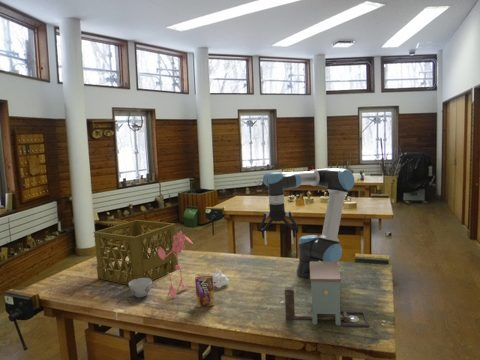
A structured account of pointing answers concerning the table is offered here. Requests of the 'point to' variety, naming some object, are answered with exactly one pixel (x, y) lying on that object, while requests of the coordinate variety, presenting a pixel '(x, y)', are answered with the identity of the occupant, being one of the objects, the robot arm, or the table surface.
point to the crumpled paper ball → (219, 279)
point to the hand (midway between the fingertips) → (279, 243)
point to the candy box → (204, 290)
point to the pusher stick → (291, 314)
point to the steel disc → (353, 318)
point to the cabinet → (325, 289)
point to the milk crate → (135, 251)
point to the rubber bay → (356, 324)
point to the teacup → (140, 286)
